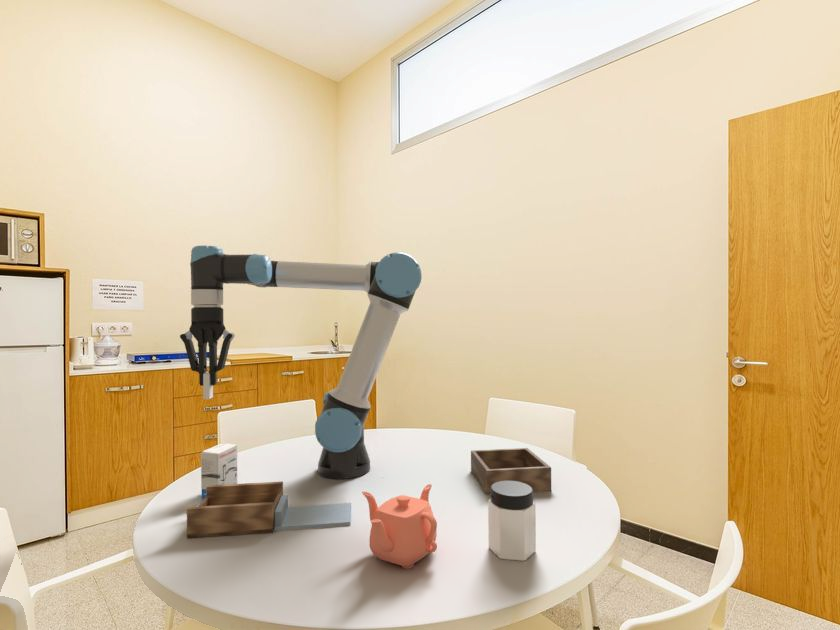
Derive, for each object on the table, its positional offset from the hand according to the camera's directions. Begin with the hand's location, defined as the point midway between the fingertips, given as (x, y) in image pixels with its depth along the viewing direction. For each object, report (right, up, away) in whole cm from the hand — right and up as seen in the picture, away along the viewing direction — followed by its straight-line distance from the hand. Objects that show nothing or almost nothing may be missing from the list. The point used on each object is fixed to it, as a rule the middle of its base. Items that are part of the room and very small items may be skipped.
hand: (208, 398), depth 117 cm
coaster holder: (+79, -24, +7) cm, 83 cm away
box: (+14, -24, -16) cm, 33 cm away
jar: (+72, -24, -29) cm, 82 cm away
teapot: (+50, -25, -30) cm, 63 cm away
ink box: (+3, -25, 0) cm, 25 cm away
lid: (+31, -25, -14) cm, 42 cm away
